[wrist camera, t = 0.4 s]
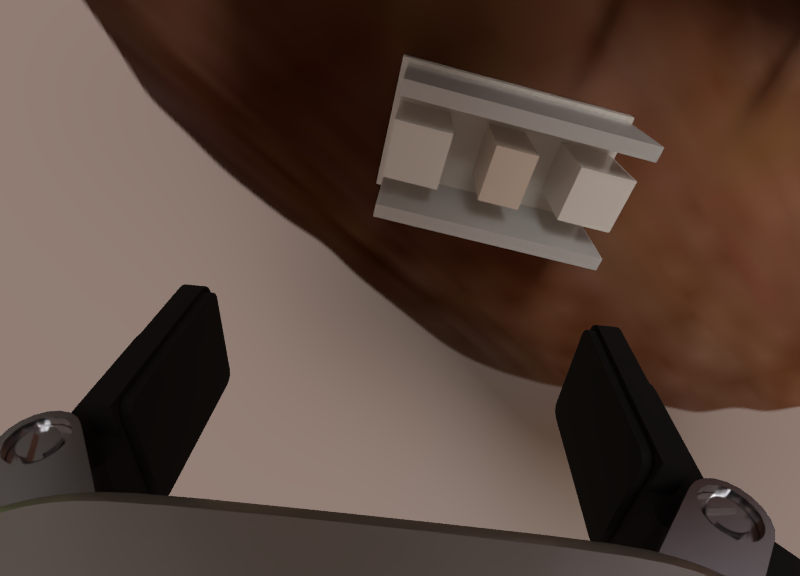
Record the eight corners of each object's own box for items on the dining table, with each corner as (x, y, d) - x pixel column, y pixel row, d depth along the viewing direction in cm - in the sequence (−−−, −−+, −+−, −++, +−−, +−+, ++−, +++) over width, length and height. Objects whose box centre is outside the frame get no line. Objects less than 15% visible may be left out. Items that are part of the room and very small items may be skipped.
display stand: (404, 54, 34) (396, 71, 28) (629, 115, 36) (674, 144, 29) (377, 179, 40) (365, 218, 33) (573, 228, 41) (600, 275, 34)
